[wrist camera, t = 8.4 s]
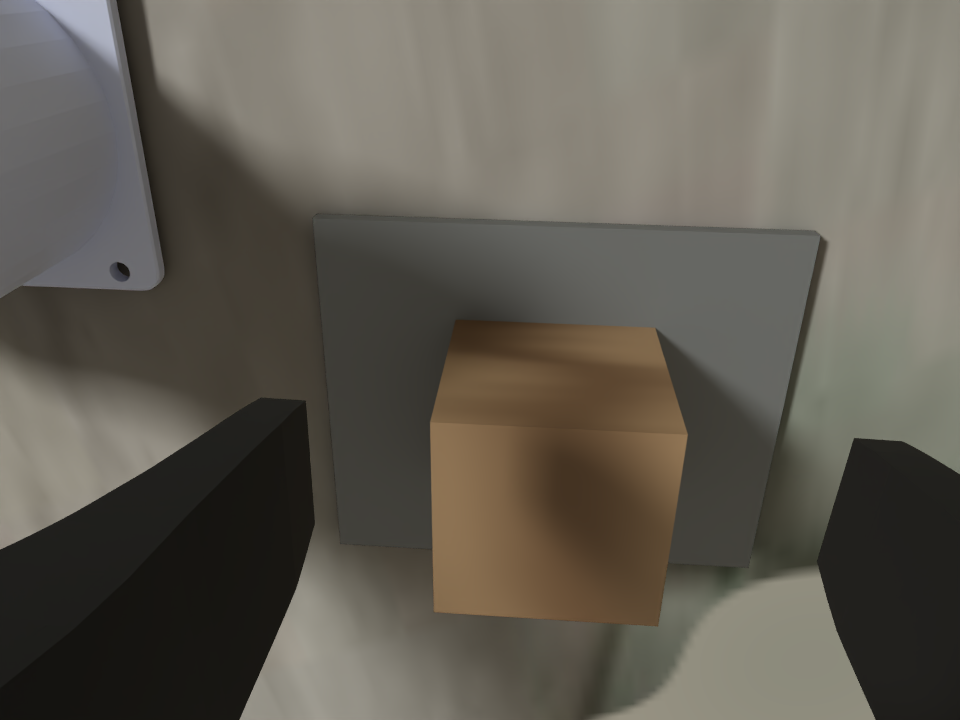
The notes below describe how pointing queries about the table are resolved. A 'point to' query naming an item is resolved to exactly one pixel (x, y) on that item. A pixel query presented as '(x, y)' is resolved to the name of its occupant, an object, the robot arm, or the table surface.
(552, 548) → the cube
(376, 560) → the table surface
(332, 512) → the table surface
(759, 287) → the mat
